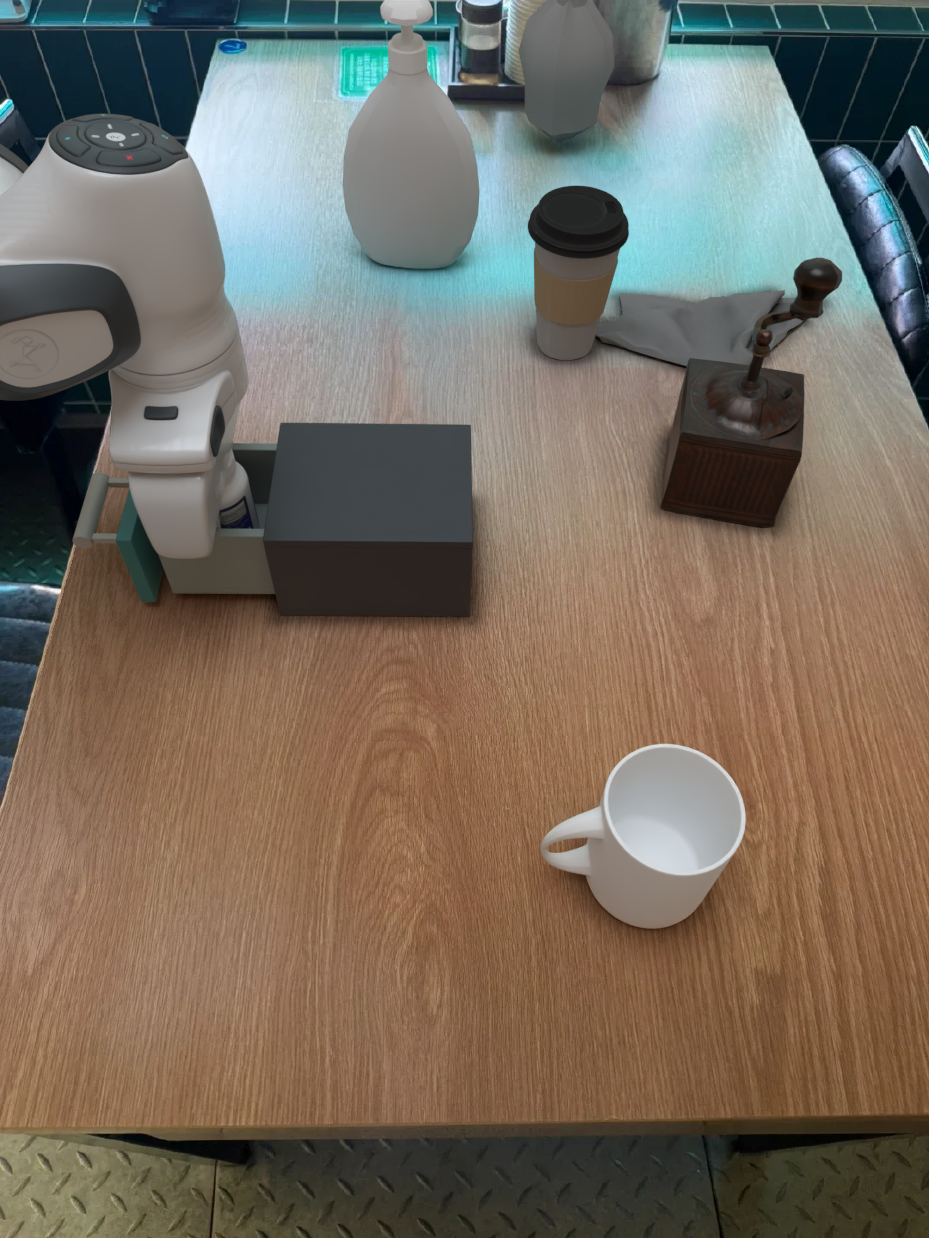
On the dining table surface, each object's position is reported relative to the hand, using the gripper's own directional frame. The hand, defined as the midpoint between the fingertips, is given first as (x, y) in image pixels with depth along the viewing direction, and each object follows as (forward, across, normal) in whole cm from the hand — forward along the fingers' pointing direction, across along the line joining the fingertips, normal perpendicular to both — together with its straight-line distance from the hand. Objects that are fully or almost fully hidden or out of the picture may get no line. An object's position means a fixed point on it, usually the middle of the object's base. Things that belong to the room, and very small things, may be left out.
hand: (218, 503), depth 76 cm
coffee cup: (+7, -29, +30) cm, 43 cm away
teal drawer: (+6, 0, -2) cm, 6 cm away
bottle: (+7, -69, +32) cm, 77 cm away
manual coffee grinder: (+7, -12, +44) cm, 47 cm away
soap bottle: (+7, -44, +14) cm, 47 cm away
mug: (+7, +28, +30) cm, 42 cm away
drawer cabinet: (+7, 0, +12) cm, 14 cm away
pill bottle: (+4, 0, 0) cm, 4 cm away
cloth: (+7, -31, +46) cm, 56 cm away
